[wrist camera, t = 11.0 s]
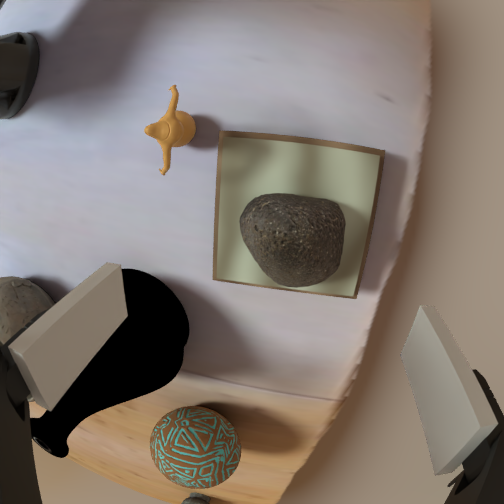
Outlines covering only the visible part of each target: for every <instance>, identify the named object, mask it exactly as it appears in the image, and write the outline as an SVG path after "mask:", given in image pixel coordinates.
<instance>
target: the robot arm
mask: <svg viewBox="0 0 504 504" xmlns="http://www.w3.org/2000/svg"><path fill="white" fill-rule="evenodd" d="M5 1H6V0H0V9H1V8H2V6H3V4H4V3H5ZM38 63H39V48H38V44H37V41H36V39H35V38H34V36H32V35H31V34H28V33H22V32H14V33H10V34H6V35H2V36H0V119H7V118H10V117H12V116H14V115H15V114H16V113H17V112H18V111H19V110H20V109H21V108H22V106H23V105H24V103H25V102H26V100H27V98H28V96H29V94H30V92H31V90H32V87H33V84H34V81H35V78H36V74H37V70H38ZM127 316H128V315H127V308H126V301H125V294H124V287H123V279H122V271H121V265H119V264H114V263H108V262H107V263H106V264H104V265H103V266H102V267H101V268H99V269H98V270H97V271H96V272H94V273H93V274H92V275H90V276H89V277H88V278H87V279H85V280H84V281H83V282H82V283H80V284H79V285H78V286H77V287H76V288H74V289H73V290H72V291H71V292H69V293H68V294H67V295H66V296H65V297H63V298H62V299H61V300H60V301H59V302H57V303H56V304H55V305H54V306H53V307H52V308H50V309H47V310H45V311H43V312H41V313H38V314H37V315H36V316H35V317H34V318H33V319H31V320H30V322H28V323H27V324H26V325H25V326H24V328H21V329H20V330H19V331H18V332H17V333H16V334H14V335H13V336H12V337H11V338H10V339H9V340H8V341H7V342H6V343H5V344H4V345H2V346H0V504H42V500H41V496H40V491H39V486H38V480H37V475H36V469H35V462H34V455H33V447H32V438H31V427H30V411H29V402H28V400H27V397H28V395H29V394H30V393H31V395H32V396H33V398H34V400H35V402H36V404H38V405H40V406H42V407H44V408H45V409H47V410H49V411H52V409H53V408H54V407H55V405H56V404H57V403H58V401H59V400H60V399H61V397H62V396H63V395H64V393H65V392H66V391H67V390H68V388H69V387H70V386H71V384H72V383H73V382H74V381H75V379H76V378H77V377H78V376H79V374H80V373H81V372H82V371H83V369H84V368H85V367H86V366H87V364H88V363H89V362H90V361H91V359H92V358H93V357H94V356H95V354H96V353H97V352H98V351H99V350H100V348H101V347H102V346H103V345H104V343H105V342H106V341H107V340H108V339H109V337H110V336H111V335H112V334H113V333H114V331H115V330H116V329H117V328H118V327H119V325H120V324H121V323H122V322H123V321H124V320H125V318H126V317H127ZM400 356H401V358H402V361H403V364H404V367H405V370H406V373H407V376H408V379H409V382H410V385H411V388H412V391H413V395H414V398H415V401H416V405H417V408H418V411H419V415H420V418H421V422H422V425H423V429H424V432H425V436H426V440H427V444H428V448H429V452H430V456H431V461H432V464H433V469H434V474H435V475H441V474H446V473H451V472H453V471H454V470H455V469H456V468H457V467H458V466H460V464H461V463H462V465H463V468H464V470H463V471H462V472H461V473H460V474H459V475H458V476H457V477H456V478H454V479H453V480H452V481H451V482H450V483H449V484H448V487H450V486H451V485H453V484H454V483H455V485H454V487H453V488H452V490H451V492H450V494H449V496H448V498H447V500H446V501H445V503H444V504H504V415H503V413H502V411H501V409H500V407H499V405H498V403H497V401H496V399H495V398H494V395H493V393H492V391H491V390H490V387H489V385H488V383H487V382H486V380H485V378H484V377H483V376H482V375H481V374H480V373H479V372H478V371H477V370H472V369H471V367H470V365H469V363H468V361H467V360H466V358H465V356H464V354H463V352H462V351H461V349H460V347H459V345H458V344H457V342H456V340H455V339H454V337H453V335H452V334H451V332H450V330H449V329H448V327H447V325H446V324H445V322H444V320H443V319H442V317H441V316H440V314H439V312H438V311H437V309H436V308H435V307H434V306H423V305H420V307H419V310H418V313H417V315H416V318H415V320H414V323H413V326H412V328H411V331H410V333H409V335H408V338H407V340H406V343H405V345H404V347H403V350H402V352H401V354H400Z"/></svg>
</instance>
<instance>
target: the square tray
mask: <svg viewBox="0 0 504 504" xmlns="http://www.w3.org/2000/svg"><path fill="white" fill-rule="evenodd" d="M384 155H385V150H380V149H375V148H369V147H364V146H358V145H352V144H346V143H340V142H334V141H327V140H320V139H312V138H304V137H296V136H287V135H277V134H266V133H253V132H239V131H219V143H218V159H217V177H216V197H215V219H214V247H213V280H216V281H223V282H229V283H236V284H243V285H250V286H257V287H264V288H272V289H279V290H287V291H294V292H302V293H310V294H318V295H326V296H334V297H343V298H351V299H356V298H357V294H358V291H359V287H360V283H361V279H362V274H363V270H364V266H365V262H366V257H367V253H368V248H369V244H370V239H371V234H372V229H373V224H374V219H375V213H376V208H377V202H378V196H379V190H380V184H381V177H382V170H383V163H384ZM272 193H288V194H295V195H298V196H305V197H313V198H324V199H328V200H330V201H333V202H335V203H337V204H338V205H339V206H340V208H341V210H342V212H343V214H344V217H345V221H346V226H345V234H344V244H343V253H342V255H341V261H340V266H339V267H338V269H337V271H336V272H335V273H334V274H332V275H331V276H330V277H329V278H327V279H326V280H325V281H323V282H321V283H319V284H315V285H312V286H308V287H298V288H294V287H286V286H282V285H279V284H277V283H276V282H274V281H273V280H272V279H271V278H270V277H268V276H267V275H266V274H265V273H264V272H263V271H262V269H261V268H260V266H259V265H258V263H257V262H256V261H255V260H254V258H253V256H252V254H251V253H250V251H249V250H248V248H247V246H246V245H245V243H244V241H243V238H242V235H241V231H240V222H239V220H240V216H241V214H242V212H243V210H244V209H245V207H246V206H247V204H248V203H249V202H250V201H251V200H253V199H254V198H255V197H259V196H260V195H264V194H272Z"/></svg>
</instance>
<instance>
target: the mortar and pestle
mask: <svg viewBox="0 0 504 504" xmlns="http://www.w3.org/2000/svg"><path fill="white" fill-rule="evenodd" d="M209 501H210V498H209V497H208V496H206V495H203V494H200V493H191V494H190V497H189V498H186V499H185V500H184V501H183V502H182V503H181V504H209Z"/></svg>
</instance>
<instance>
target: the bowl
mask: <svg viewBox="0 0 504 504" xmlns="http://www.w3.org/2000/svg"><path fill="white" fill-rule="evenodd" d="M54 305H55V302H54V301H53V300H52V298H51V297H50V296H49V295H48V294H47V293H46V292H45V291H44V290H43V289H42V288H40V287H39V286H38V285H36V284H34V283H32V282H30V280H28V279H23V278H19V277H13V276H11V277H1V278H0V346H2V345H4V344H5V343H6V342H7V341H8V340H9V339H10V338H11V337H12V336H13V335H14V334H16V333H17V332H18V331H19V330H20V329H21V328H24V326H25V325H26V324H27V323H28V322H30V320H31V319H33V318H34V317H35V316H36V315H37V314H38V313H41V312H43V311H45V310H47V309H50V308H52V307H53V306H54ZM27 400H28V402H33V401H35V400H34V398H33V396H32V395H31V393H30V394H29V395H28V397H27Z"/></svg>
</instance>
